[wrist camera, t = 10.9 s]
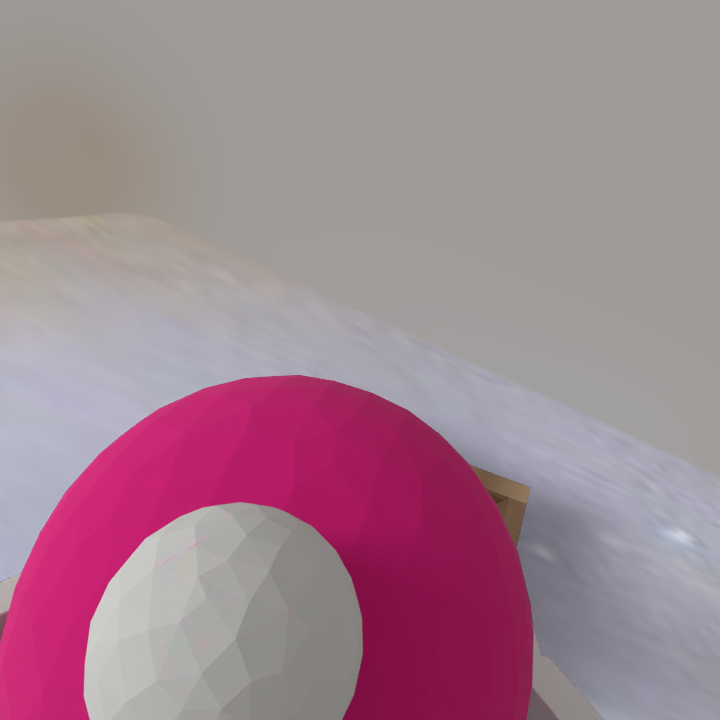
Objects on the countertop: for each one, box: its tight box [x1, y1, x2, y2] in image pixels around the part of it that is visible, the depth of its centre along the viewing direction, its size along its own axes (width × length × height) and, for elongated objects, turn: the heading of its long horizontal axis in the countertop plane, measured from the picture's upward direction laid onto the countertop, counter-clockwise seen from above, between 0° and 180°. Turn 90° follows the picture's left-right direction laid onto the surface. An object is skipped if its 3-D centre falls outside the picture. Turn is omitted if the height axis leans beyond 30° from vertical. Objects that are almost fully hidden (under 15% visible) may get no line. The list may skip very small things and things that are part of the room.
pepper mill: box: [0, 375, 534, 720], centre depth 12 cm, size 7×7×20 cm
